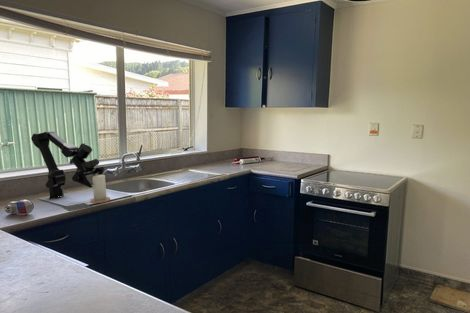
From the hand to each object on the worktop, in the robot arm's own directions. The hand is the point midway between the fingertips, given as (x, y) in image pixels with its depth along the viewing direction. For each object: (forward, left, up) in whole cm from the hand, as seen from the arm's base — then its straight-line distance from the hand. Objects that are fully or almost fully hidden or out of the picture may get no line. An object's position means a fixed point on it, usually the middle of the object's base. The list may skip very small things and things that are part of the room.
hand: (97, 185), depth 184 cm
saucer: (+1, -1, -9) cm, 9 cm away
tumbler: (+1, -1, -8) cm, 8 cm away
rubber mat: (-9, -11, -9) cm, 17 cm away
